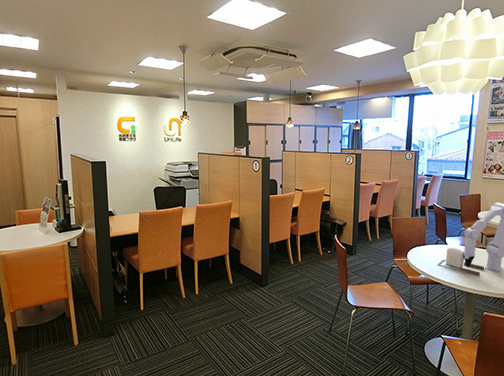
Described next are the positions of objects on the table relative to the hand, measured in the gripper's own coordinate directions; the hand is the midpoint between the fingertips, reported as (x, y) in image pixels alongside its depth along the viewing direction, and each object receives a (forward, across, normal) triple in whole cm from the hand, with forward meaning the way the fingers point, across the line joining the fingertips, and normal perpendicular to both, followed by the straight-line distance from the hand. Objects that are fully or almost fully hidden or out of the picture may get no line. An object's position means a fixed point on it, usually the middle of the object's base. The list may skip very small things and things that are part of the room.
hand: (467, 266), depth 203 cm
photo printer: (+2, 0, -8) cm, 8 cm away
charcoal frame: (+2, 0, -10) cm, 10 cm away
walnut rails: (+2, 0, +2) cm, 3 cm away
